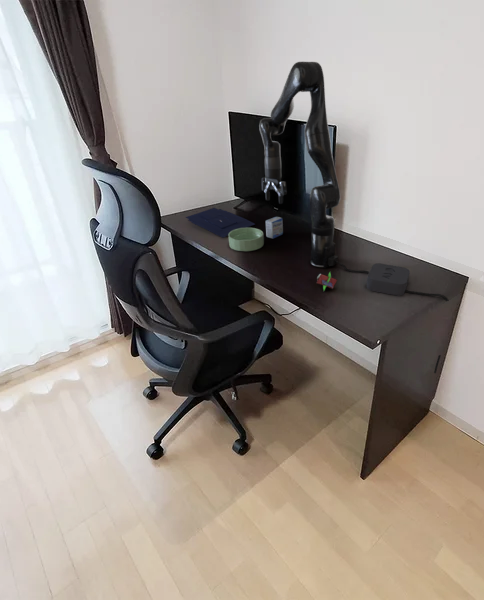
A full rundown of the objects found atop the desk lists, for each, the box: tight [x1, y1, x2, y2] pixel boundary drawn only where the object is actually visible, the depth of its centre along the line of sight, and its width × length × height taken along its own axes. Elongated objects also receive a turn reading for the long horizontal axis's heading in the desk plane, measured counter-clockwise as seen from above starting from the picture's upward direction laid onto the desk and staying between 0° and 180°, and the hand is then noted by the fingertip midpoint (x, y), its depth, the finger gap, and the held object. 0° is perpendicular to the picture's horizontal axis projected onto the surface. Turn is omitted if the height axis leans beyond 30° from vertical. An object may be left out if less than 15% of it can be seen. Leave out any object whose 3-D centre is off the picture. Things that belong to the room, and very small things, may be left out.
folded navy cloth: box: [185, 207, 256, 239], centre depth 196 cm, size 24×30×4 cm
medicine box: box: [265, 216, 284, 239], centre depth 183 cm, size 8×4×9 cm, turn 143°
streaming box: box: [365, 262, 411, 296], centre depth 142 cm, size 14×14×5 cm
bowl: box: [227, 227, 265, 252], centre depth 174 cm, size 16×16×6 cm
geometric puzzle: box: [316, 271, 338, 292], centre depth 139 cm, size 7×7×8 cm
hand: (274, 201), depth 176 cm, fingers open, 8 cm apart
